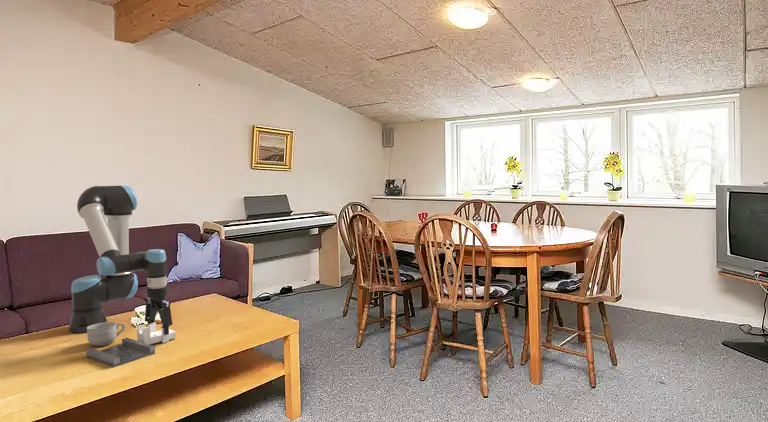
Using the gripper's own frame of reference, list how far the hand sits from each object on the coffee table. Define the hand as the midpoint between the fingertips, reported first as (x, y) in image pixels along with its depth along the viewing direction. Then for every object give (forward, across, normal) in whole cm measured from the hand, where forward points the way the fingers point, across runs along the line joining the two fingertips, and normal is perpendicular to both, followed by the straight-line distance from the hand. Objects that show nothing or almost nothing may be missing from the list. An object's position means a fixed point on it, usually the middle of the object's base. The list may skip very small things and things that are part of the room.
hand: (159, 340), depth 207 cm
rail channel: (0, +3, -18) cm, 18 cm away
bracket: (+1, 0, -1) cm, 1 cm away
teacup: (0, -16, -13) cm, 21 cm away
